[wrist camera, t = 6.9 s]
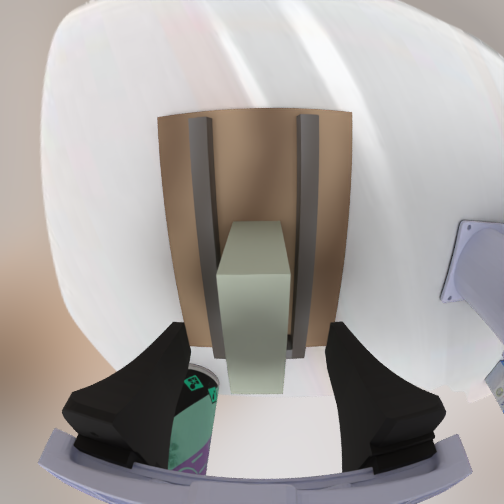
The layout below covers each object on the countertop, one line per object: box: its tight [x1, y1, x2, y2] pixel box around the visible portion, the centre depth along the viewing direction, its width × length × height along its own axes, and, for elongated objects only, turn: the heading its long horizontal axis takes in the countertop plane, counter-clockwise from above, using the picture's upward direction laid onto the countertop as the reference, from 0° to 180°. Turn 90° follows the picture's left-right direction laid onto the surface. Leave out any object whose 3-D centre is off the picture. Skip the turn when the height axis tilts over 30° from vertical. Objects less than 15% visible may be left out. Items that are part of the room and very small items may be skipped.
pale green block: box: [216, 221, 291, 394], centre depth 16 cm, size 3×8×7 cm, turn 2°
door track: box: [157, 108, 352, 359], centre depth 18 cm, size 12×18×3 cm, turn 2°
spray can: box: [168, 364, 219, 476], centre depth 17 cm, size 6×6×20 cm
